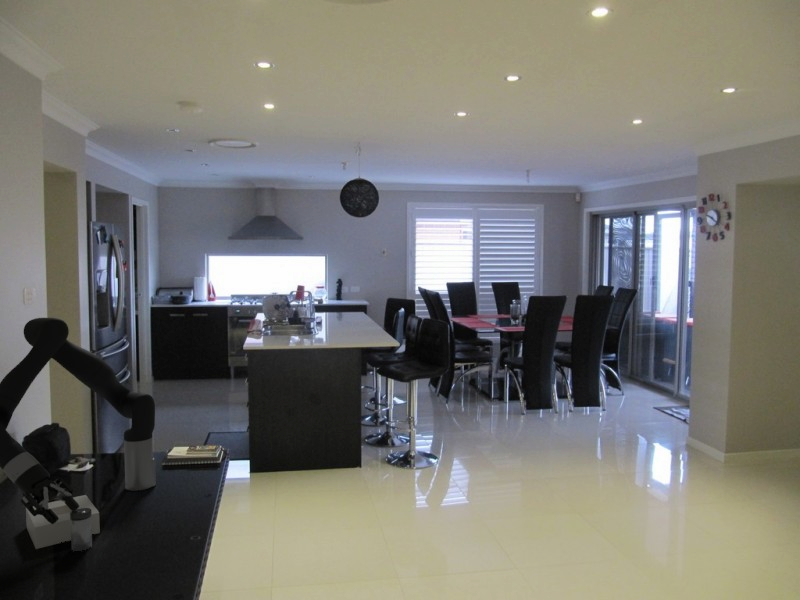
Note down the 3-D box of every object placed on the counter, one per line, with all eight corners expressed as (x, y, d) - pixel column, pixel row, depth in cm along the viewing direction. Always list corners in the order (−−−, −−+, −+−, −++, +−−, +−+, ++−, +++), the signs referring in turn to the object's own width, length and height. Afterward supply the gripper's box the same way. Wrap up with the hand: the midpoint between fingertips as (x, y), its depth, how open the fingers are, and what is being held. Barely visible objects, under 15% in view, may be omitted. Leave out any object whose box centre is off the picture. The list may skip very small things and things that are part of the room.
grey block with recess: (86, 513, 189) (85, 494, 189) (99, 532, 175) (99, 512, 175) (26, 527, 180) (25, 507, 179) (35, 549, 165) (35, 527, 165)
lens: (90, 541, 170) (89, 506, 169) (94, 548, 166) (93, 512, 165) (69, 547, 167) (68, 511, 166) (73, 553, 163) (71, 517, 162)
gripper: (15, 472, 159) (57, 516, 159) (52, 455, 174) (91, 496, 173) (-2, 491, 160) (39, 535, 160) (36, 473, 174) (74, 514, 174)
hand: (66, 515), depth 166 cm, fingers open, 8 cm apart
